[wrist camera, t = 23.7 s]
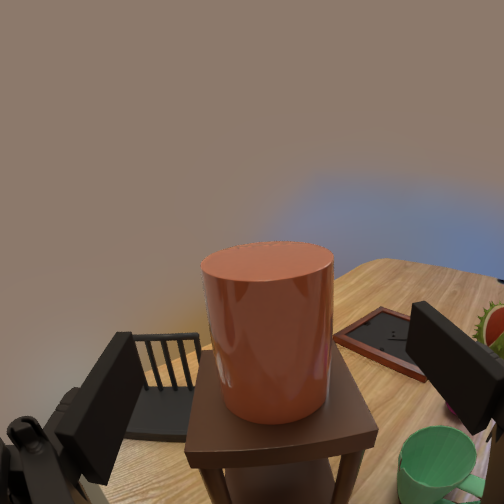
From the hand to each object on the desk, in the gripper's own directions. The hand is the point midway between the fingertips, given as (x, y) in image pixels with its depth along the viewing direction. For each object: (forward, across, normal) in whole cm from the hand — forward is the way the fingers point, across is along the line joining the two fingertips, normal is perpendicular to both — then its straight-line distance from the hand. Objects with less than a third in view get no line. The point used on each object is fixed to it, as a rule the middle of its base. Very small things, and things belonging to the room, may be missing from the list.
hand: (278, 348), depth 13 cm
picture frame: (+43, +32, -32) cm, 63 cm away
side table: (+6, 0, -32) cm, 32 cm away
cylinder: (+6, 0, -8) cm, 10 cm away
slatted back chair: (+28, -17, -32) cm, 46 cm away
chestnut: (+26, +50, -32) cm, 65 cm away
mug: (+2, +19, -32) cm, 37 cm away
